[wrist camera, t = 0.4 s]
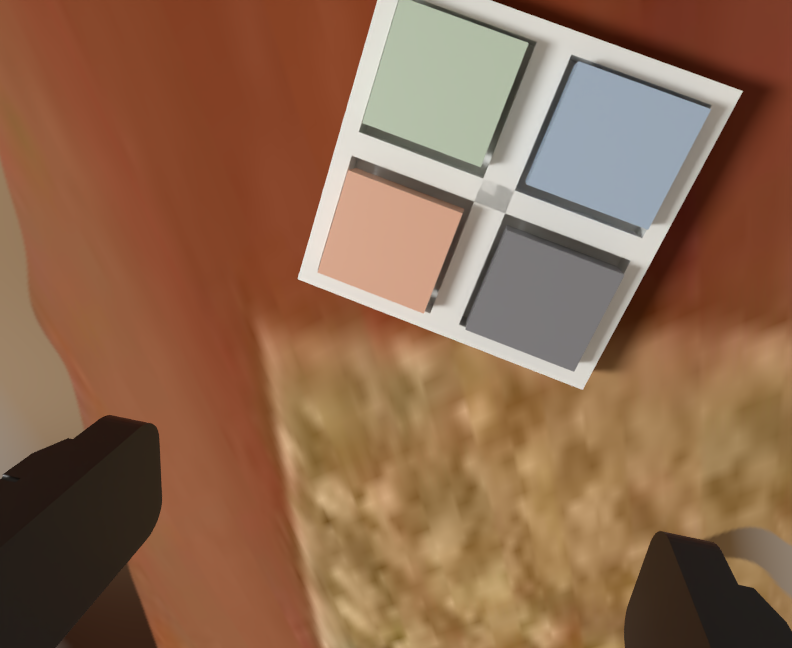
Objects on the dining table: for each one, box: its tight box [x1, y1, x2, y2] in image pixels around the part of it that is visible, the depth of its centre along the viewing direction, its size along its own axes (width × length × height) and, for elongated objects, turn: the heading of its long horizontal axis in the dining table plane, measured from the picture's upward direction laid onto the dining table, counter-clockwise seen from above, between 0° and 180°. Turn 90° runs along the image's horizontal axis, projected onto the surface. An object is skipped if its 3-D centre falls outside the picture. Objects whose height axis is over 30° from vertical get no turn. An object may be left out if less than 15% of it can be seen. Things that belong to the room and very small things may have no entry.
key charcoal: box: [465, 225, 624, 372], centre depth 31 cm, size 6×6×2 cm
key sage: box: [362, 0, 529, 167], centre depth 29 cm, size 6×6×2 cm
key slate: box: [525, 61, 711, 230], centre depth 28 cm, size 6×6×2 cm
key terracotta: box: [317, 168, 464, 314], centre depth 32 cm, size 6×6×2 cm
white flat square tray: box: [298, 0, 743, 390], centre depth 32 cm, size 17×18×3 cm
